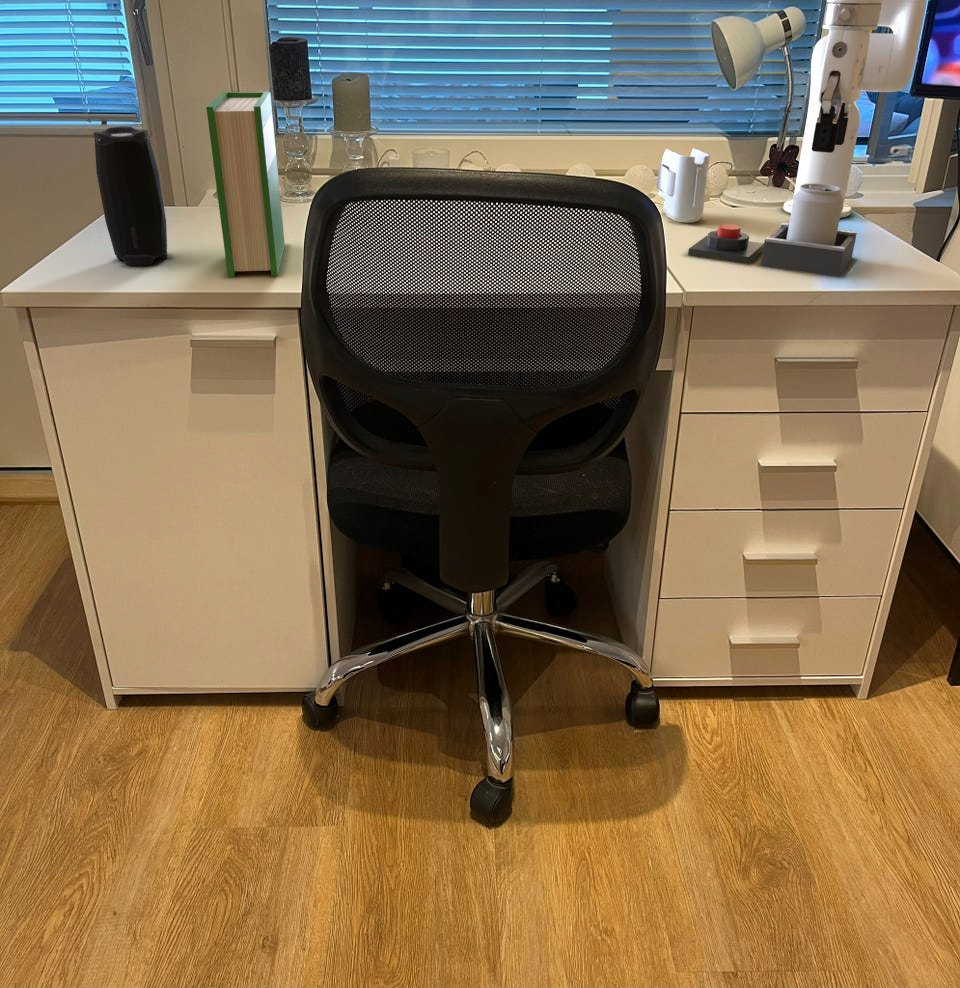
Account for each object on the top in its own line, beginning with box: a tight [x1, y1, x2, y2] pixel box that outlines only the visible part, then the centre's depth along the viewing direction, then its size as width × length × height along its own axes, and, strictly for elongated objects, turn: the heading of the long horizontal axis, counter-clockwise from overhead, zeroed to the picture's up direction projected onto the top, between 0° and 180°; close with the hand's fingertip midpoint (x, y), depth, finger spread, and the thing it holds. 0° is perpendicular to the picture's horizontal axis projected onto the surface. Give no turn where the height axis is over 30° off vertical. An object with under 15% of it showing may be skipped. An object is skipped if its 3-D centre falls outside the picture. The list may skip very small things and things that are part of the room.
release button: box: [717, 223, 742, 238], centre depth 154 cm, size 4×4×2 cm
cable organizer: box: [656, 147, 711, 224], centre depth 174 cm, size 7×12×12 cm, turn 12°
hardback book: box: [205, 91, 286, 278], centre depth 144 cm, size 18×7×24 cm, turn 7°
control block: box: [687, 229, 764, 265], centre depth 155 cm, size 10×10×3 cm
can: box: [786, 183, 844, 246], centre depth 148 cm, size 8×8×12 cm
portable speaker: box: [93, 125, 168, 267], centre depth 144 cm, size 9×9×20 cm
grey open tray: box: [760, 222, 858, 278], centre depth 150 cm, size 12×12×4 cm
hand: (827, 147), depth 143 cm, fingers open, 7 cm apart
